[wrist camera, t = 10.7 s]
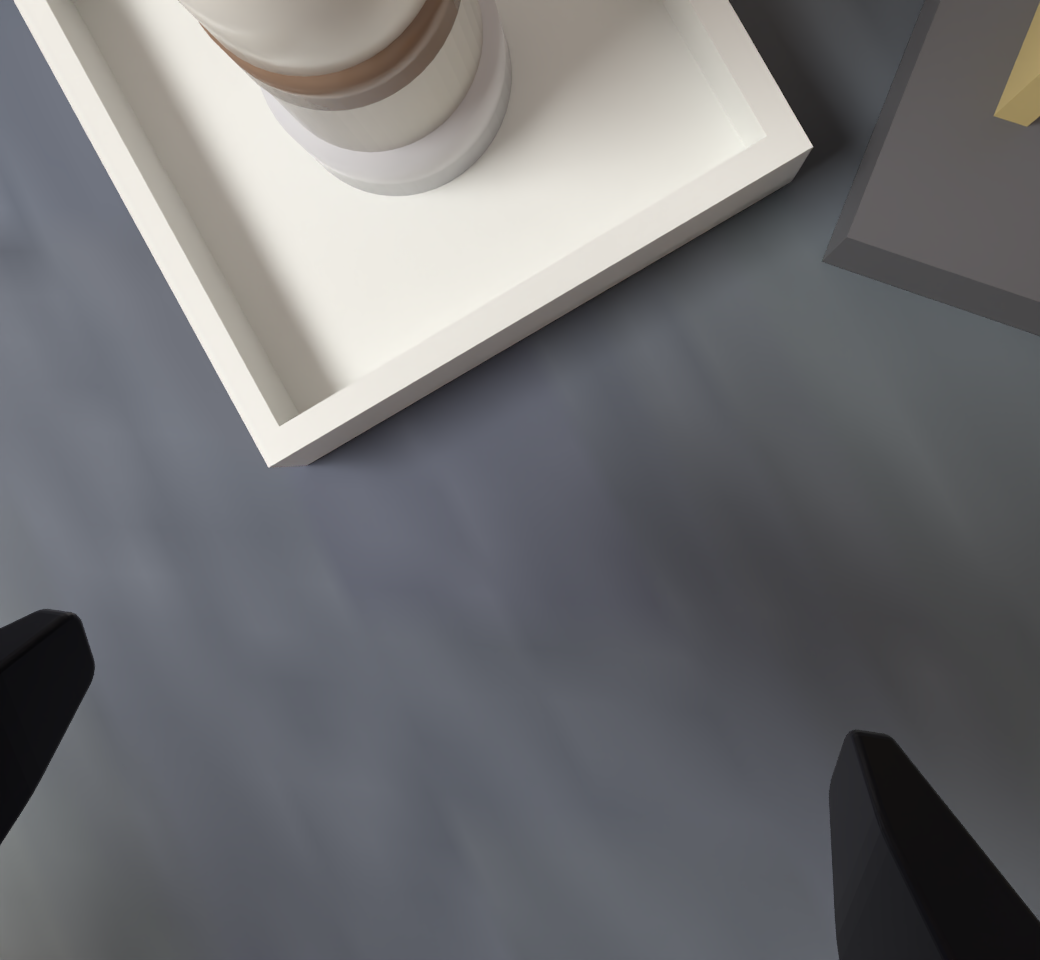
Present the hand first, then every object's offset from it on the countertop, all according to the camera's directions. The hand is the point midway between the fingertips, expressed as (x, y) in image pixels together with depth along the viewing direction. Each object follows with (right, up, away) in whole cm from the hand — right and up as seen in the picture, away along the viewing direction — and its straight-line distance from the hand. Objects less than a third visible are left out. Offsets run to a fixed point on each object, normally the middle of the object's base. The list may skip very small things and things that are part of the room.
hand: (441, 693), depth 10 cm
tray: (-2, +11, +9) cm, 14 cm away
